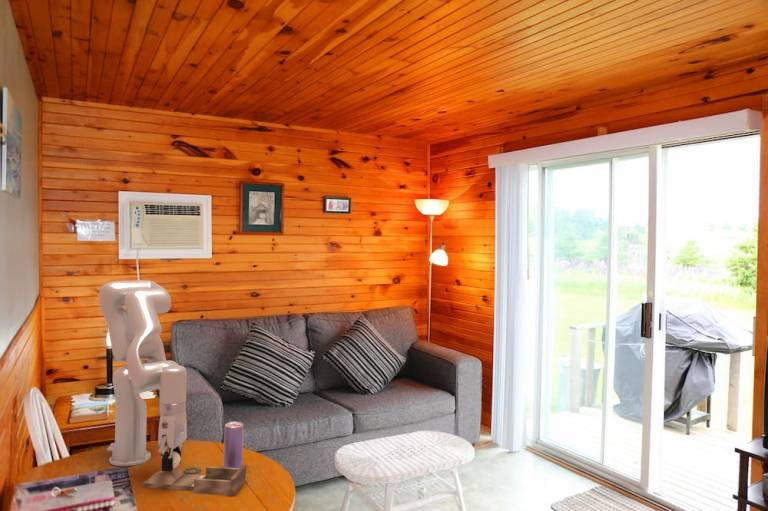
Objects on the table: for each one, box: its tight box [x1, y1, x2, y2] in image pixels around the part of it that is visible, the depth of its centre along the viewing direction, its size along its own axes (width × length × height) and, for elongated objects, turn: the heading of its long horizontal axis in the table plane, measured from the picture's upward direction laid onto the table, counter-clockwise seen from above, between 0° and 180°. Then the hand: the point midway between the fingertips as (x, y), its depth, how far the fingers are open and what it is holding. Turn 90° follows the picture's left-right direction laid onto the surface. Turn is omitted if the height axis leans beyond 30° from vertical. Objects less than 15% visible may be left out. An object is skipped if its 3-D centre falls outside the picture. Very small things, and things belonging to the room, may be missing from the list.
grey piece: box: [183, 466, 202, 475], centre depth 182 cm, size 5×5×1 cm
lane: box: [142, 465, 247, 497], centre depth 172 cm, size 28×10×9 cm, turn 85°
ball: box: [172, 451, 182, 469], centre depth 172 cm, size 5×5×5 cm
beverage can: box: [222, 421, 244, 468], centre depth 183 cm, size 6×6×15 cm
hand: (171, 466), depth 172 cm, fingers closed on ball, 4 cm apart
